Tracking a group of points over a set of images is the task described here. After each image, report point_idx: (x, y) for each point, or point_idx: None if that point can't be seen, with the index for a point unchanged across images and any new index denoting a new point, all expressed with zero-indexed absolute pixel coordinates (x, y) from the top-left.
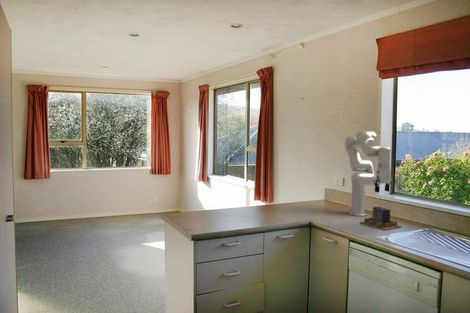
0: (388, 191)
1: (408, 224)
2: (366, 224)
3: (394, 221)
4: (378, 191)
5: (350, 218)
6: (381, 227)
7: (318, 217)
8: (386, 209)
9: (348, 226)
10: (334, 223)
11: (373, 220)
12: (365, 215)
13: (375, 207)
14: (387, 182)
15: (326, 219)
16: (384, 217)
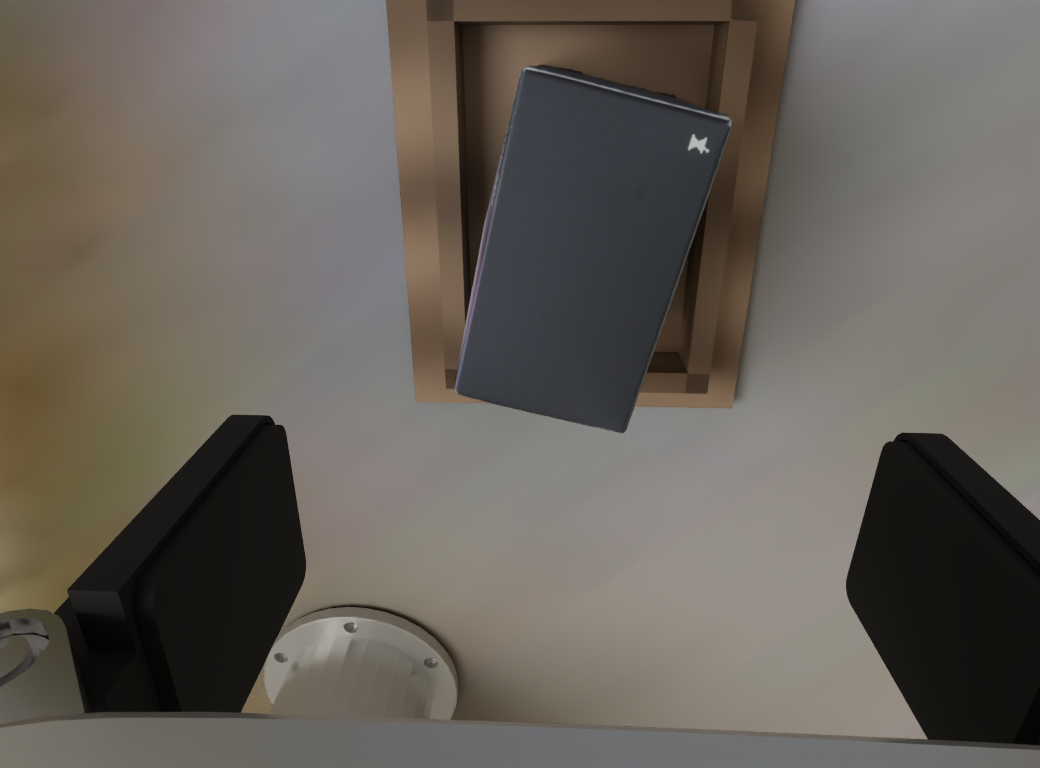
0: (271, 421)
1: (98, 50)
2: (744, 302)
3: (436, 41)
4: (950, 460)
5: (604, 596)
6: (776, 30)
7: None
8: (589, 132)
9: (1024, 352)
10: None
11: (704, 254)
12: (327, 609)
13: (622, 380)
14: (405, 757)
15: None
16: (660, 94)
